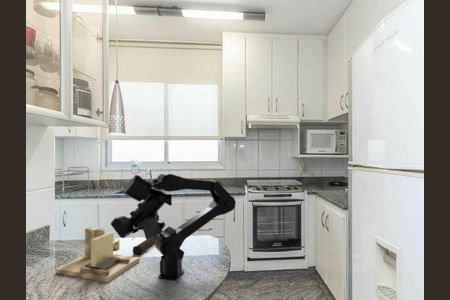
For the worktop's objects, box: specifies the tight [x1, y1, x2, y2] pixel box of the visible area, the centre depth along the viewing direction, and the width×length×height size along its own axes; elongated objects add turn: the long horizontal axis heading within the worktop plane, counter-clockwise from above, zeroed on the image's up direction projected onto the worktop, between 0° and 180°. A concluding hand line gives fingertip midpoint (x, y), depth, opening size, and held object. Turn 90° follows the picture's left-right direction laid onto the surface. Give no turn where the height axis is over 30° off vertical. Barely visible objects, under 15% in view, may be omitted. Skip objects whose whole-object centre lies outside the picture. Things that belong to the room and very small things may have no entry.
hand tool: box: [132, 235, 158, 256], centre depth 107 cm, size 19×4×5 cm, turn 168°
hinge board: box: [55, 227, 141, 283], centre depth 88 cm, size 22×16×12 cm
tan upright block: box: [85, 231, 121, 270], centre depth 87 cm, size 7×12×10 cm, turn 163°
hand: (122, 236), depth 83 cm, fingers closed
